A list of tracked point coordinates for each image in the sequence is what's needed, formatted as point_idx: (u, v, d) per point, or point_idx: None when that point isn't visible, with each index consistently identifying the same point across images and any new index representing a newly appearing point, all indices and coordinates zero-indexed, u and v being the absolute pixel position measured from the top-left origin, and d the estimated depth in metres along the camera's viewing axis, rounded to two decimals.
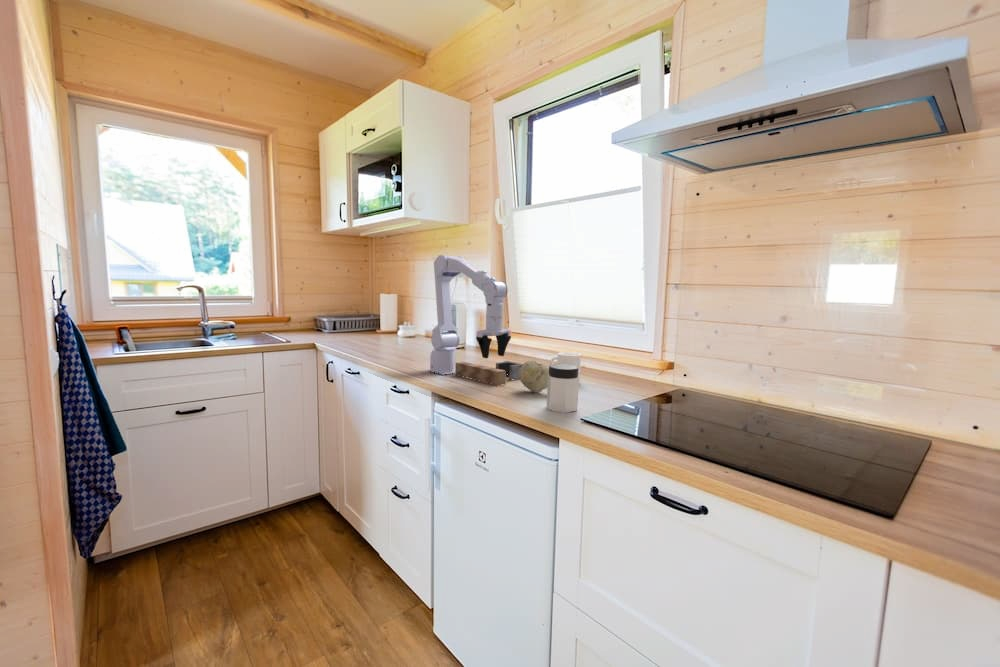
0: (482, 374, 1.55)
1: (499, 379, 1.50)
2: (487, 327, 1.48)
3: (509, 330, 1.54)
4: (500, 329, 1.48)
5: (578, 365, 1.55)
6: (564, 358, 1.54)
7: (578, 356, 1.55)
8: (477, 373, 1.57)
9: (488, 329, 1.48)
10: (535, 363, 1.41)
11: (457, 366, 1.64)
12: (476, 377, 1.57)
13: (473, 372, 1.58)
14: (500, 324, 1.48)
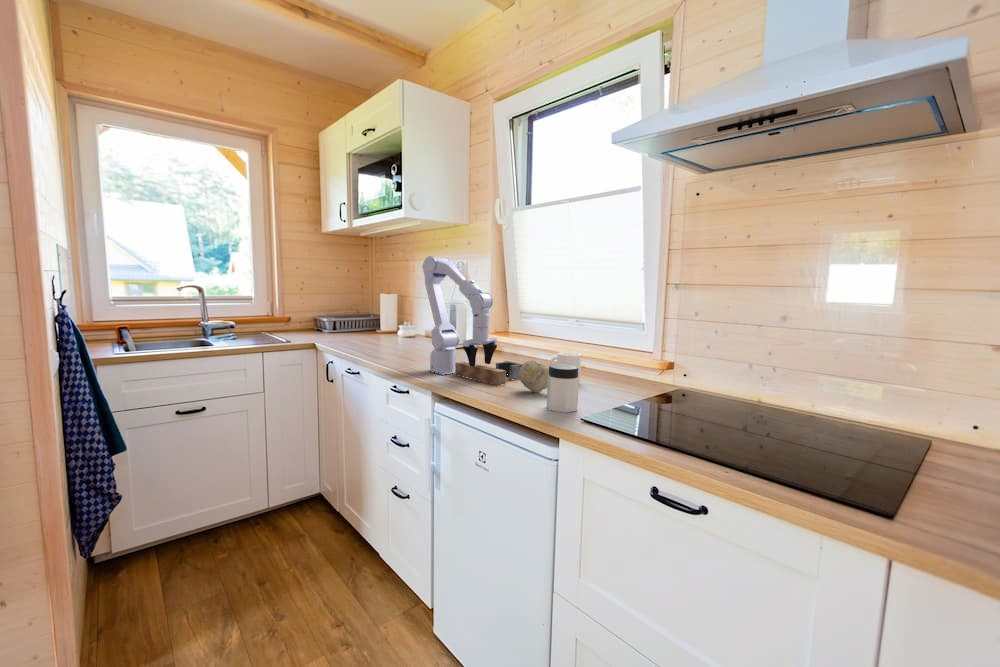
0: (482, 374, 1.55)
1: (499, 379, 1.50)
2: (474, 337, 1.55)
3: (495, 339, 1.61)
4: (486, 338, 1.55)
5: (578, 365, 1.55)
6: (564, 358, 1.54)
7: (578, 356, 1.55)
8: (477, 373, 1.57)
9: (474, 339, 1.55)
10: (535, 363, 1.41)
11: (457, 366, 1.63)
12: (476, 377, 1.57)
13: (473, 372, 1.58)
14: (486, 334, 1.55)
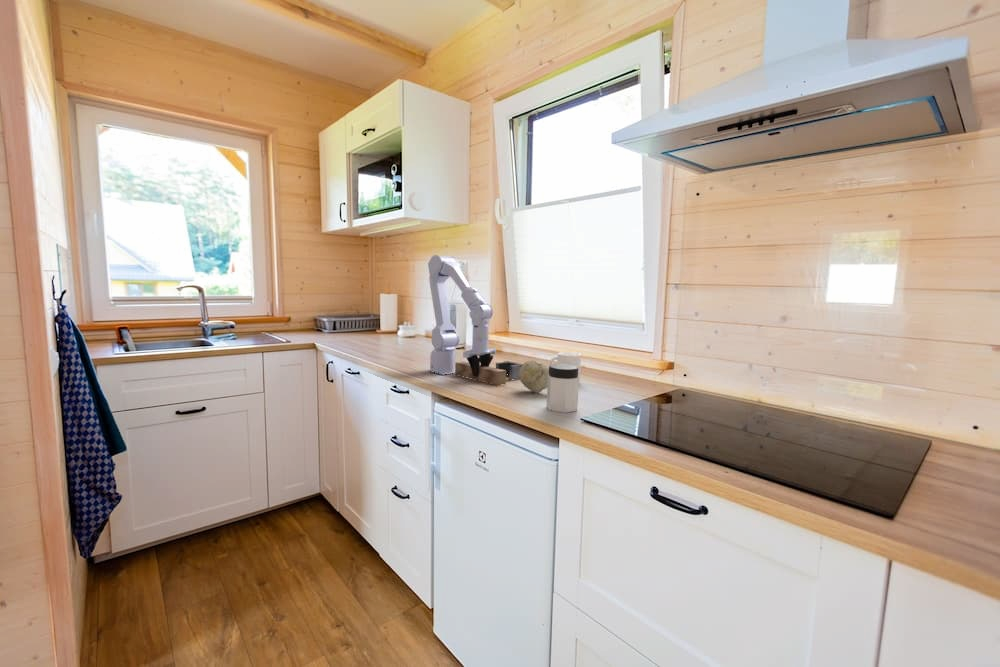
0: (482, 374, 1.55)
1: (499, 379, 1.50)
2: (473, 347, 1.56)
3: (495, 350, 1.61)
4: (486, 349, 1.55)
5: (578, 365, 1.55)
6: (564, 358, 1.54)
7: (578, 356, 1.55)
8: None
9: (474, 349, 1.55)
10: (535, 363, 1.41)
11: (457, 366, 1.63)
12: (476, 377, 1.57)
13: None
14: (486, 345, 1.55)
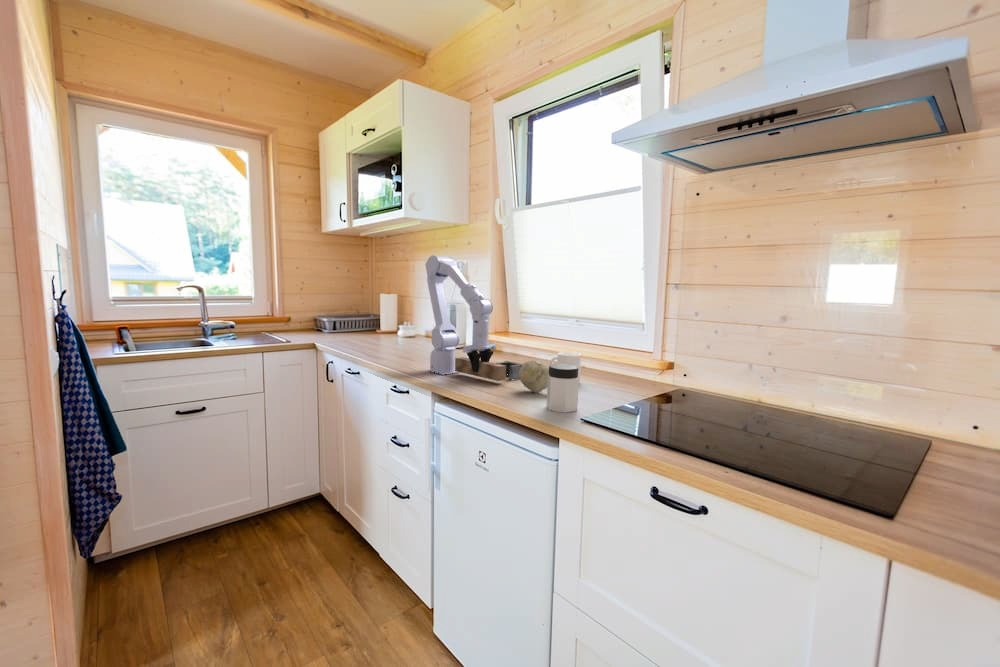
0: (482, 369, 1.55)
1: (499, 374, 1.50)
2: (473, 343, 1.55)
3: (495, 345, 1.61)
4: (486, 345, 1.55)
5: (578, 365, 1.55)
6: (564, 358, 1.54)
7: (578, 356, 1.55)
8: None
9: (474, 345, 1.55)
10: (535, 363, 1.41)
11: (457, 361, 1.63)
12: (476, 372, 1.57)
13: None
14: (486, 340, 1.55)
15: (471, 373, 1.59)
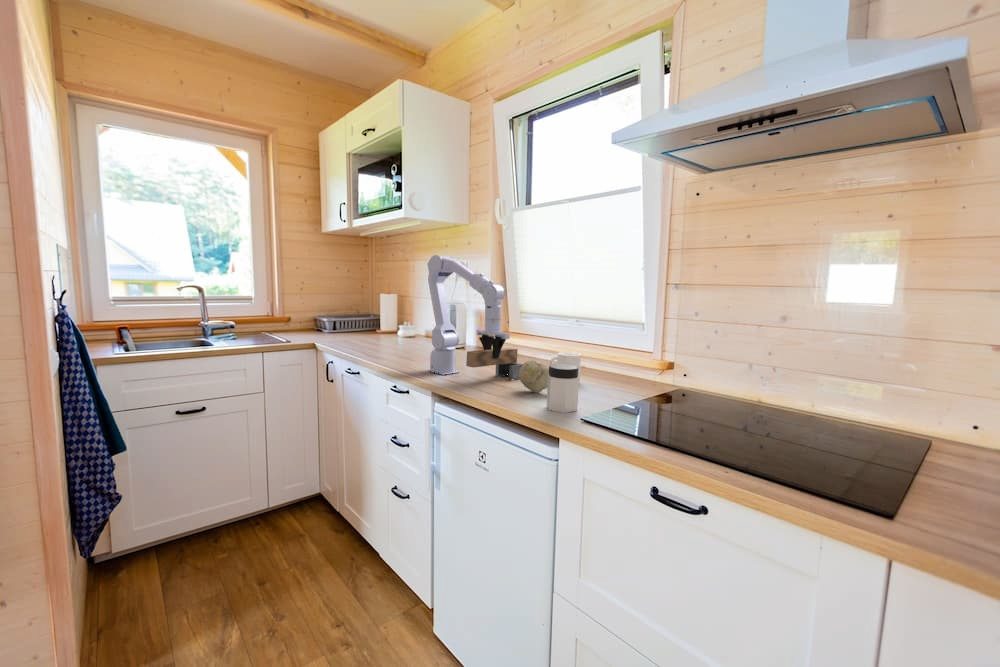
0: None
1: (467, 359, 1.50)
2: None
3: (504, 334, 1.50)
4: (487, 330, 1.53)
5: (578, 365, 1.55)
6: (564, 358, 1.54)
7: (578, 356, 1.55)
8: None
9: None
10: (535, 363, 1.41)
11: None
12: None
13: None
14: (487, 325, 1.53)
15: None
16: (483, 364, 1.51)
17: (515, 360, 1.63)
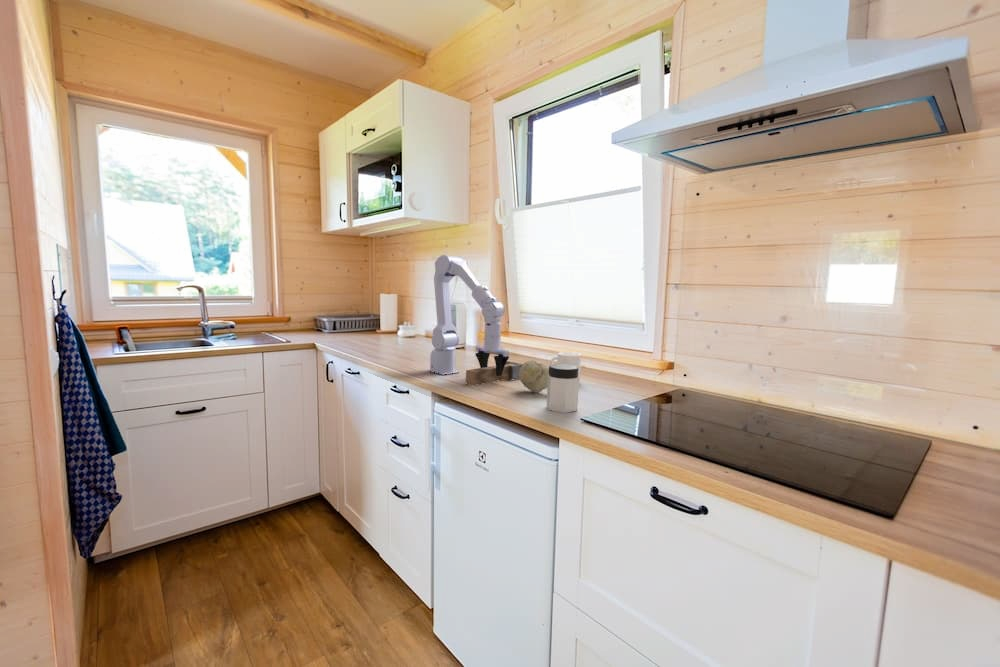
0: None
1: (466, 378, 1.50)
2: None
3: (503, 352, 1.51)
4: (486, 347, 1.54)
5: (578, 365, 1.55)
6: (564, 358, 1.54)
7: (578, 356, 1.55)
8: None
9: None
10: (535, 363, 1.41)
11: None
12: None
13: None
14: (486, 342, 1.54)
15: None
16: (483, 382, 1.52)
17: None
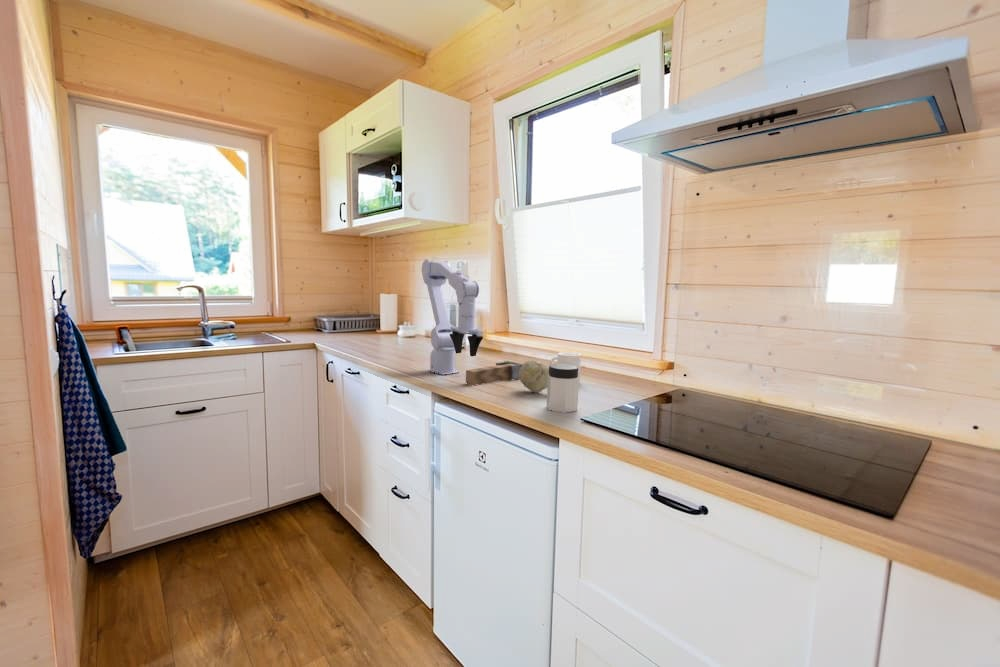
0: None
1: (466, 378, 1.50)
2: None
3: (477, 331, 1.49)
4: (460, 327, 1.52)
5: (578, 365, 1.55)
6: (564, 358, 1.54)
7: (578, 356, 1.55)
8: None
9: None
10: (535, 363, 1.41)
11: None
12: None
13: None
14: (460, 322, 1.52)
15: None
16: (483, 382, 1.52)
17: None
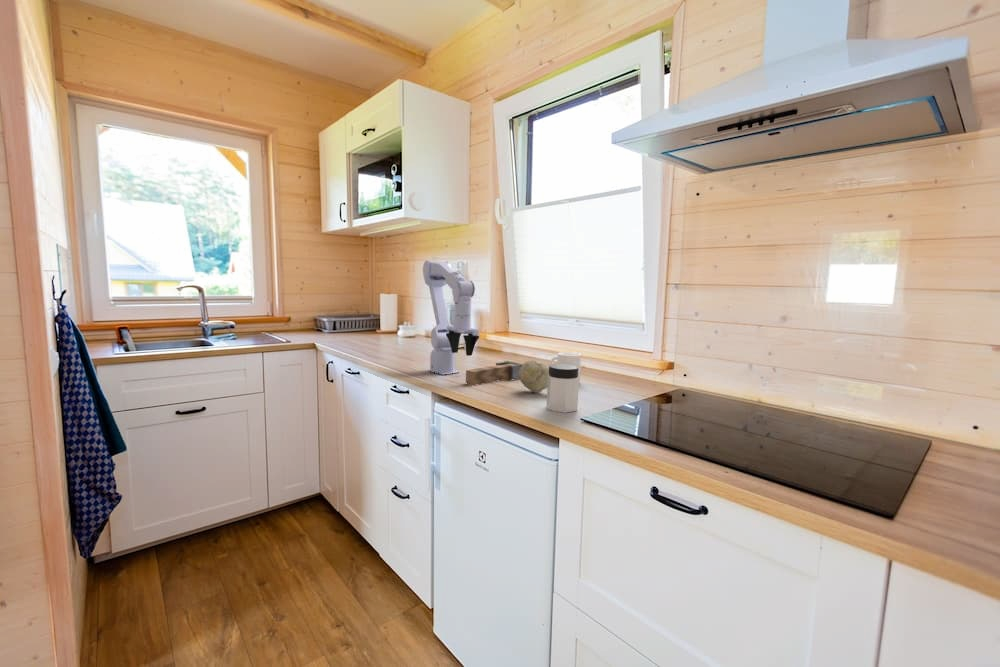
0: None
1: (466, 378, 1.50)
2: None
3: (473, 331, 1.49)
4: (456, 327, 1.52)
5: (578, 365, 1.55)
6: (564, 358, 1.54)
7: (578, 356, 1.55)
8: None
9: None
10: (535, 363, 1.41)
11: None
12: None
13: None
14: (456, 322, 1.52)
15: None
16: (483, 382, 1.52)
17: None
